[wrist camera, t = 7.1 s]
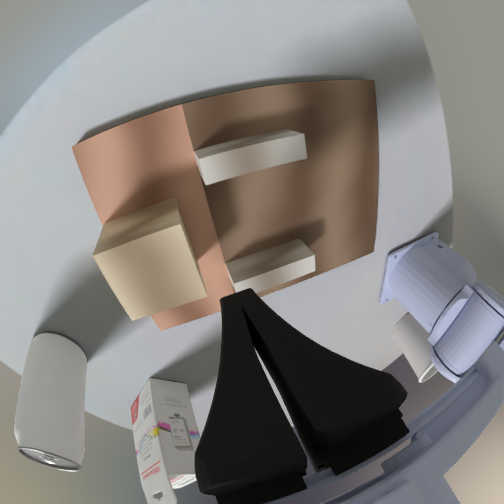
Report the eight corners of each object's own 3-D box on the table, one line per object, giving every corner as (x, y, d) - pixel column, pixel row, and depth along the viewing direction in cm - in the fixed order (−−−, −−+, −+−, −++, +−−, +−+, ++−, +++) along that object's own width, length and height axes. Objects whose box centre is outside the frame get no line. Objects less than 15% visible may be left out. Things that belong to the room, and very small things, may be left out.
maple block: (175, 196, 16) (180, 223, 13) (197, 260, 19) (207, 296, 16) (104, 223, 15) (92, 255, 12) (133, 282, 18) (132, 320, 15)
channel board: (365, 79, 16) (397, 81, 14) (367, 246, 26) (389, 265, 23) (76, 144, 13) (57, 154, 10) (159, 322, 22) (163, 353, 19)
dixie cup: (410, 301, 35) (451, 344, 27) (427, 307, 39) (462, 343, 31) (377, 341, 38) (412, 386, 30) (399, 342, 42) (429, 380, 34)
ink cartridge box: (163, 412, 31) (186, 509, 19) (129, 407, 28) (146, 510, 16) (189, 382, 28) (222, 499, 16) (149, 375, 26) (173, 503, 14)
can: (25, 351, 19) (9, 452, 9) (40, 319, 18) (16, 439, 8) (75, 377, 23) (74, 475, 13) (97, 350, 22) (97, 466, 12)
